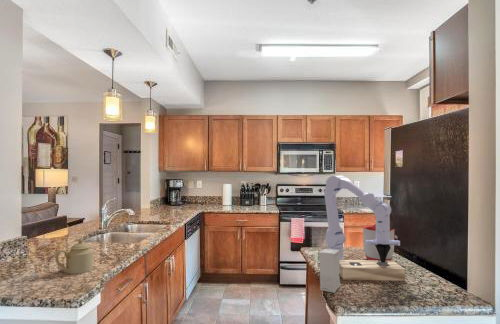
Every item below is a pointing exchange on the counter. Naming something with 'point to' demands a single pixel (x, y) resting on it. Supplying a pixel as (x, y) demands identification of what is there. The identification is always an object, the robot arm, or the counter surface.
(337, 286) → the skincare box
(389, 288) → the counter surface
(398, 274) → the maple peg block
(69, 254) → the olive green teapot
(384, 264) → the steel peg
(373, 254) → the citrus juicer
